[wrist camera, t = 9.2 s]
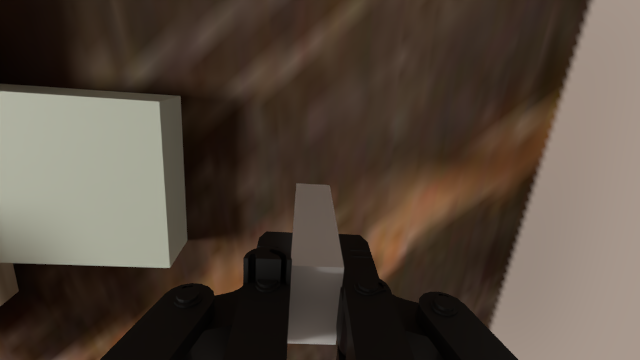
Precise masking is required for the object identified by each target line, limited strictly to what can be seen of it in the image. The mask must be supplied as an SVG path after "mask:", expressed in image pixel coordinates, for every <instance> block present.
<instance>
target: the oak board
mask: <svg viewBox="0 0 640 360" xmlns="http://www.w3.org/2000/svg"><path fill="white" fill-rule="evenodd" d="M18 291H19V290H18V285H17V280H16V276H15V271H14V267H13V263H0V306H1V305H2V304H4V303H5V302H6V301H7V300H9V299H10V298H11V297H12V296H13V295H15V294H16V293H17V292H18Z"/></svg>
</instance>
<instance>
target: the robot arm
mask: <svg viewBox="0 0 640 360" xmlns="http://www.w3.org/2000/svg"><path fill="white" fill-rule="evenodd" d="M336 335H337V341H338V348H337V357H336V360H518V359H517V358H516V357H515V356H514V355H513V354H512V353H511V352H510V351H509V350H508V349H507V348H506V347H505V346H504V345H503V343H502V342H501V341H500V340H499V339H498V338H497V337H496V336H495V335H494V334H493V333H492V332H491V331H490V330H489V329H488V328H487V327H486V326H485V325H484V324H483V323H482V322H481V321H480V320H479V319H478V318H477V317H476V316H475V315H474V313H473V312H472V311H471V310H470V309H469V308H468V307H467V306H466V305H465V304H464V303H462V302H461V301H460V300H459V299H457V298H455V297H453V296H451V295H449V294H446V293H441V292H428V293H425V294H423V295H422V296H421V297H420V298H419V303H416V302H413V301H409V300H405V299H402V298H399V297H396V296H394V295H392V293H391V290H390V288H389V287H388V285H387V284H386V283H385V282H384V281H382V280H381V279H379V276H378V273H377V270H376V267H375V264H374V261H373V258H372V255H371V252H370V248H369V245H368V242H367V241H366V240H365V239H363V238H362V237H361V236H360V235H347V234H338V230H337V224H336V219H335V213H334V207H333V202H332V196H331V190H330V185H316V184H298V183H297V184H296V197H295V210H294V223H293V233H287V232H265V233H264V234H263V235H262V236H261V237H260V238H259V241H258V245H257V249H253V250H251V251H250V252H248V253H247V254H246V255H245V257H244V280H243V286H242V287H241V288H240V289H238V290H235V291H233V292H230V293H226V294H221V295H215V296H214V292H213V291H212V290H211V289H210V288H209V287H208V286H205V285H203V284H194V283H191V284H184V285H180V286H178V287H175V288H173V289H171V290H170V291H168V292H167V293H166V294H165V295H164V296H163V297H162V298H161V299H160V300H159V301H158V302H157V303H156V304H155V305H154V306H153V307H152V308H151V309H150V310H149V311H148V312H147V313H146V314H145V315H144V316H143V317H142V318H141V319H140V320H139V321H138V322H137V323H136V324H135V325H134V326H133V327H132V328H131V329H130V330H129V331H128V332H127V333H126V334H125V335H124V336H123V337H122V338H121V339H120V340H119V341H118V342H117V343H116V344H115V345H114V346H113V347H112V348H111V349H110V350H109V351H108V352H107V353H106V354H105V355H104V356H103V357H102V358H101V359H100V360H286V359H287V343H298V344H330V345H335V344H336Z"/></svg>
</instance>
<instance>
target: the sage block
mask: <svg viewBox="0 0 640 360" xmlns="http://www.w3.org/2000/svg"><path fill="white" fill-rule="evenodd" d="M186 242H187V223H186V201H185V180H184V159H183V137H182V116H181V96H174V95H159V94H145V93H130V92H115V91H101V90H86V89H71V88H57V87H42V86H28V85H13V84H0V263H28V264H60V265H91V266H122V267H153V268H170V267H171V265H172V264H173V262H174V261H175V259H176V258H177V256H178V254H179V253H180V251H181V250H182V248H183V246H184V245H185V243H186Z"/></svg>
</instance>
